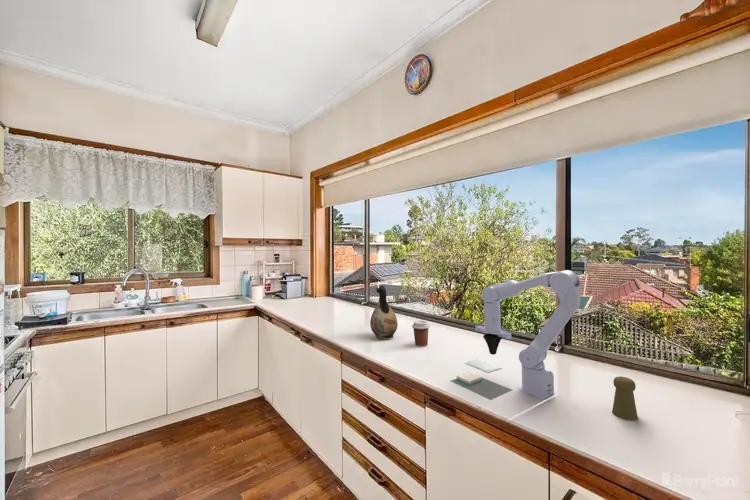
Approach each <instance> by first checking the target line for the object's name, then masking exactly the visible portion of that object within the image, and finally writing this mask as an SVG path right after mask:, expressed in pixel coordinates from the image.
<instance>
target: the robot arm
mask: <svg viewBox="0 0 750 500" xmlns="http://www.w3.org/2000/svg"><path fill="white" fill-rule="evenodd" d="M581 285H582V283H581V281H580V279H579V276H578V275H577V274H576V272H574V271H572V270H569V269H564V270H561V271H554V272H548V273H543V274H539V275H536V276H533V277H529V278H527V279H523V280H520V281H516V280H514V279H511V280H510V278H509V279H505V280H504V281H503V282H502V283H501V282H500V283H493V285H492V286H487V287H485V288H484V289H482V291H481V293H480V295H481V299H482V300H483V304H484V305H483V311H484V312H483V313H484V315H483V317H484V319H483V320H484V326H483V325H474V326H475V332H481V333H484V335H483V336H482V337H483V340H484V341H485V343H486V345H487V348H488V352H489V354H490V355H496V354H497V352H498V348H499V345H500V343H501V340H502V339H506V340H512V333H511V332H509V331H505V330H502V329H501V326H502V325H501V322H502V321H501V300H505V299H508V298H514V297H517V296H519V295H520V294H521V291H524V290H528V289H531V288H532V289H533V288H537V287H540V286H543V287H545V288H551V289H552V291H554V293H555V294H556V295H557V297H558V299H559V304H558V306H557V307H556V309H554V312H553V313H552V314H551V315H550V317H549V318H548V320H547V321H546V323H545V324H544V325H543V326H542V328H541V329H540V331H539V332H538V334H537V335H536V337H535V338H534V340H532V341H531V342H530V343H529V345H528V346H527V347H526V348H524V349H522V350H520V352H519V353H518V360H519V362H520V364H521V386H518V387H516V389H517V390H519V391H521V392H524V393H525V394H529V395H532V396H534V397H537V398H539V399H542V400H543V399H546V398H548V397H550V396H552V395H553V394H556V392H555V386H554V385H555V381H554V377H555V376H554V373H553V371H552V370H549V369H547V367H546V365H545V362H544V361H545V360H546V358H547V356H548V355H547V353H548V350H549V349H550V346H551V345H552V343H554V341H555V339H556V338H557V336H559V334H560V333H561V332H562V330H563V329H564V328H565V326H566V324H568V322H569V321H570V320H571V318H572V317H573V316H574V314H575V313H576V311H577V310H578V308H580V306H581Z"/></svg>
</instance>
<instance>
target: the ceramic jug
mask: <svg viewBox="0 0 750 500" xmlns="http://www.w3.org/2000/svg"><path fill="white" fill-rule="evenodd" d="M375 290H376V293H377V294H378V295H379V298H378V302H377V304H376V306H375V307H374V309H373V311H372V313H371V317H370V322H369V326H370V329H371V332H372V333H373V335H375V336H376V338H377V339H378V340H381V341H382V340H383V341H387V340H390V339H393V338H394V334H395V333H396V332H397V329H398V320H397V315H396V313H395V312H394V310H393V309H392V307H391V306H390V304H389V303H388V302H387V291H386V287H385V286H384V285H380V286H378V287H376V289H375Z"/></svg>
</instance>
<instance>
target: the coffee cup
mask: <svg viewBox="0 0 750 500" xmlns="http://www.w3.org/2000/svg"><path fill="white" fill-rule="evenodd" d="M430 327H431V326H430V324H429V323H428V321H426V320H415V321H414V322H413V324H412V327H411V328H412V329H413V338H414V346H415V347H417V348H426V347H428V346H429V345H428V342H429V329H430Z"/></svg>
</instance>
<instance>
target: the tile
mask: <svg viewBox="0 0 750 500" xmlns="http://www.w3.org/2000/svg"><path fill="white" fill-rule="evenodd" d="M456 378H457V380H458V381H460V382H462V383H464V384H466V385H469V386H470V385H473V384H476V383H478V382H481V381H482V378H483V376H482V375H479V374H477V373H473V372H471V371H467V372H464V373H462V374H458V375H456Z"/></svg>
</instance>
